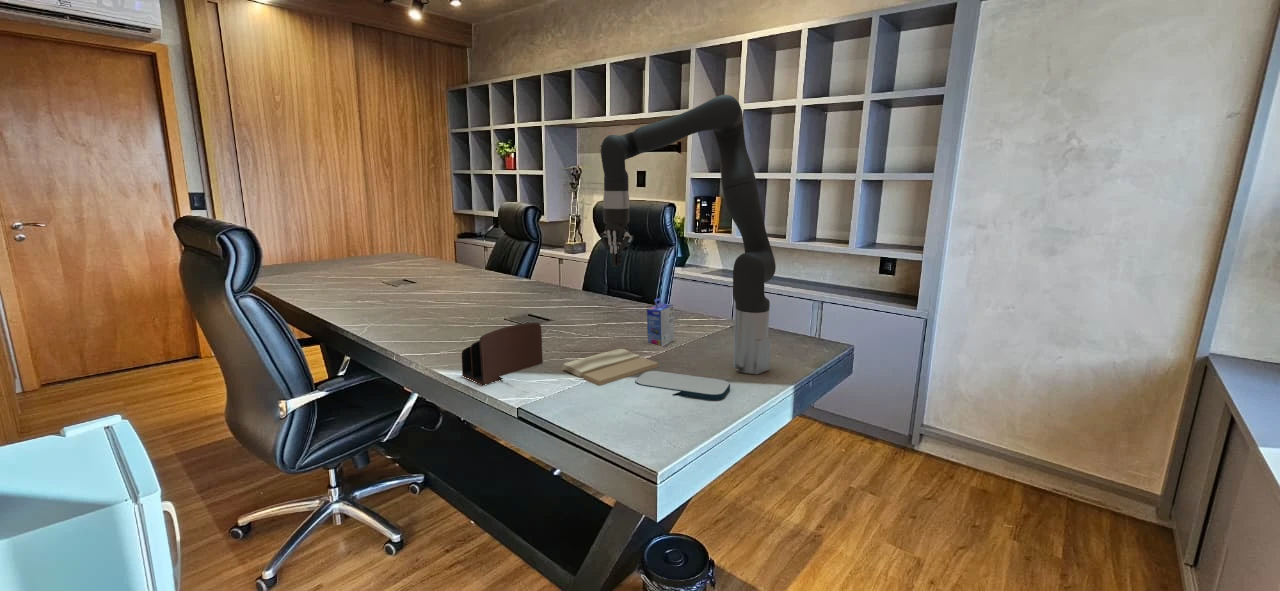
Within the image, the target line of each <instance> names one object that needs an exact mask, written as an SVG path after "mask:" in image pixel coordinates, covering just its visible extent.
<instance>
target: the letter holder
mask: <svg viewBox="0 0 1280 591" xmlns="http://www.w3.org/2000/svg"><path fill="white" fill-rule="evenodd" d="M543 360H544V359H543V333H542V325H541V324H540V323H539V322H527V323H526V322H525V323H520V324H518V323H517V324H514V325H513V324H512V325H509V326H505V327H501V328H499V329H495V330H494V331H491V332H487V333H484V334H483V335H482V336H480V338H479V340H478V341H476V342H473V343H471V345H470V346H467V347H465V348H464V349H462V351H461V368H462V369H461V371H462V375H461V377H462V376H464V377H466V378H469V379H471V380H473V381H475V382H477V383H476V384H478V383H480V384H482V385H481V386H483V385H485V384H488V385H490V384H489V383H491V382H494V383H496V382H495V381H497V382H499V380H501V379H504V378H503V377H502V376H506V375H509V374H512V373H514V372H515V373H516V372H518V371H522V370H525V369H529V368H531V367H535V366H537V365H542V364H543V363H544V362H543ZM466 378H465V379H466ZM473 381H472V382H473ZM501 381H502V380H501ZM475 382H474V383H475ZM480 384H479V385H480ZM491 384H492V383H491ZM485 386H486V385H485Z"/></svg>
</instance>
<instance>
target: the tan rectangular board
mask: <svg viewBox="0 0 1280 591" xmlns="http://www.w3.org/2000/svg"><path fill="white" fill-rule="evenodd" d="M656 368H659V362H657V361H654V360H651V359H648V358H644V357H640V358H638V359H635V360H631V361H628V362H624V363H621V364H617V365H614V366H611V367H607V368H604V369H600V370H597V371H594V372H590V373H587V374H583V380H586V381H588V382H589V383H592V384H595V385H597V386H604V385H607V384H609V383H612V382H613V383H614V382H615V381H616V382H617V381H618V380H621V379H625V378H628V377H632V376H635V375H637V374H641V373H645V372H647V371H652V370H653V369H656Z"/></svg>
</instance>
